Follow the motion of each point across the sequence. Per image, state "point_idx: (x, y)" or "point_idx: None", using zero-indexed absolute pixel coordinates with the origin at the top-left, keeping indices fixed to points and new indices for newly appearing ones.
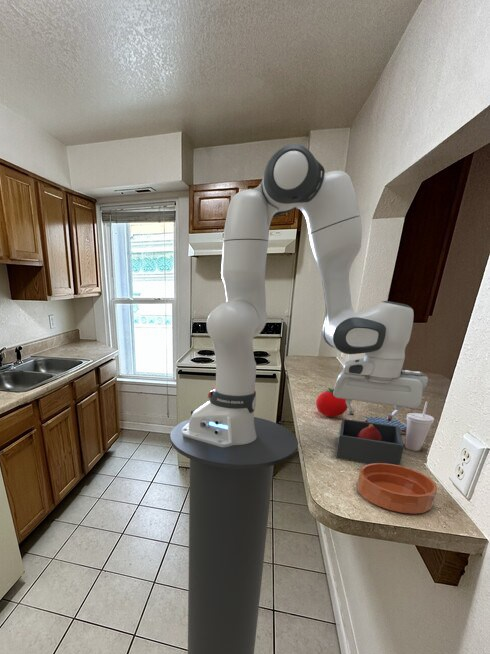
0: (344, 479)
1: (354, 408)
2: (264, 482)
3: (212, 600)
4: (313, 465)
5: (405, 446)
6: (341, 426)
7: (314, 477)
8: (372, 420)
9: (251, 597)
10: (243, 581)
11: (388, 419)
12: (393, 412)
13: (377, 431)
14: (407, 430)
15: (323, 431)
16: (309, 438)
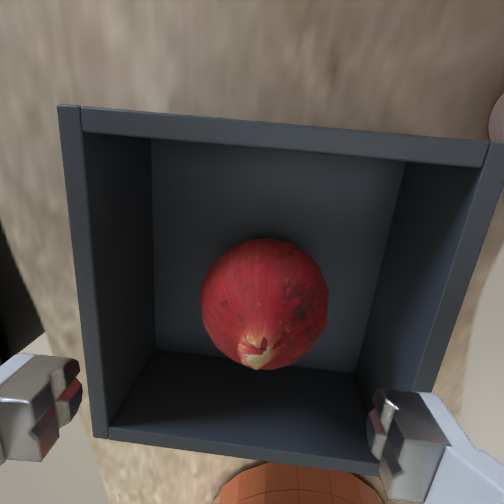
0: (182, 473)
1: (29, 416)
2: (22, 336)
3: None
4: (87, 420)
5: (491, 124)
6: (81, 299)
7: (104, 480)
8: None
9: None
10: None
11: (379, 449)
12: (465, 498)
13: (298, 352)
14: None
15: (48, 21)
16: (10, 177)
